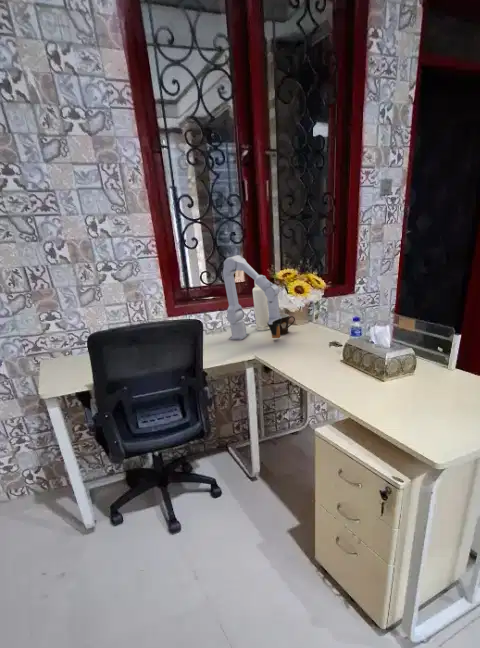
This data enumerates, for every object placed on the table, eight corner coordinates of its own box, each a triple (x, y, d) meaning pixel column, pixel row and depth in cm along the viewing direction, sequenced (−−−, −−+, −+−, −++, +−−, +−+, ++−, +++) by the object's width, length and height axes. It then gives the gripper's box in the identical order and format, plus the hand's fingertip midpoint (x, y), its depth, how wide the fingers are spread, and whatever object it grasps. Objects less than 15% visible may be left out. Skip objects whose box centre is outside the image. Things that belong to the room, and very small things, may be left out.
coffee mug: (274, 335, 235) (272, 318, 231) (276, 331, 243) (274, 314, 238) (294, 334, 234) (293, 317, 229) (295, 330, 241) (294, 313, 236)
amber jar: (273, 335, 230) (272, 322, 226) (281, 335, 228) (280, 322, 225) (270, 338, 226) (269, 324, 222) (278, 338, 224) (277, 324, 221)
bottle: (270, 326, 253) (266, 278, 239) (268, 330, 246) (264, 281, 232) (257, 326, 254) (252, 279, 241) (255, 330, 247) (250, 282, 234)
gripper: (276, 312, 212) (278, 338, 219) (284, 305, 224) (286, 329, 231) (263, 312, 215) (266, 337, 221) (272, 305, 227) (274, 329, 233)
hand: (275, 333), depth 226 cm, fingers closed on amber jar, 4 cm apart
